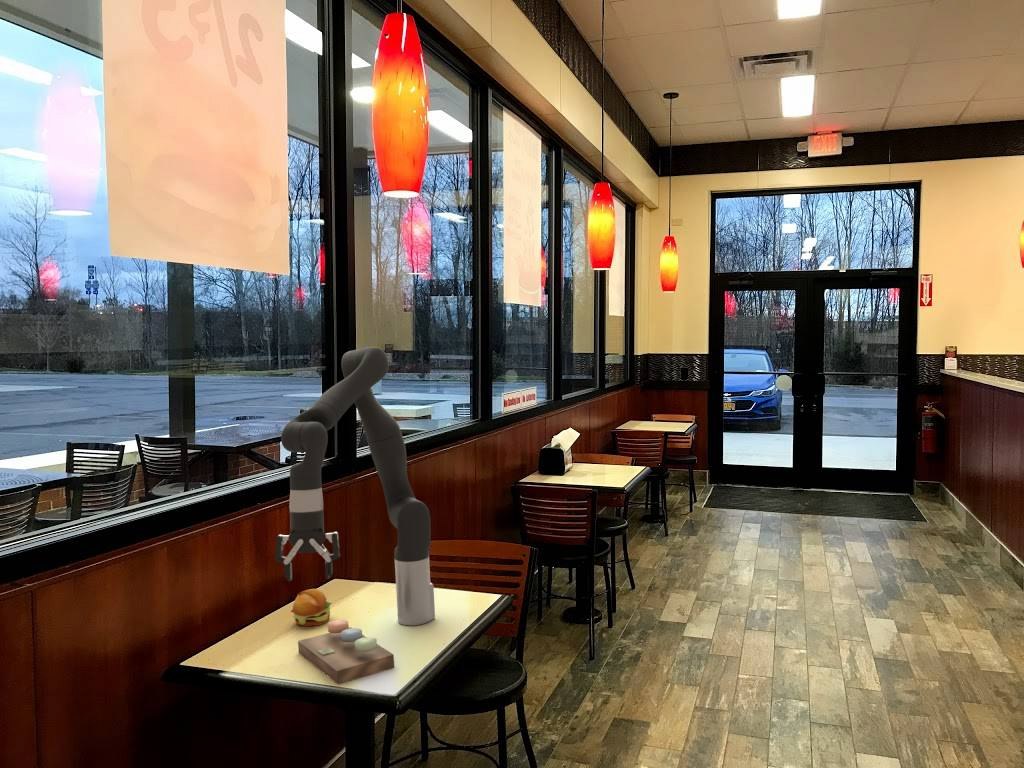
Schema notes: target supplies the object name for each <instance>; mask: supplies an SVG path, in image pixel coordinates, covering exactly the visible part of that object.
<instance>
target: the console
mask: <svg viewBox="0 0 1024 768" xmlns="http://www.w3.org/2000/svg"><path fill="white" fill-rule="evenodd" d="M350 628H352V627H350V626H349V629H350ZM365 637H366V636H365V635H364V634H362V638H365ZM297 647H298V648H297V649H298V654H300V656H302V657H303V658H304V659H306V660H307V661H308V662H310V663H311V664H312V665H313V666H314V667H316V668H317V669H318V670H319V669H320V670H319V671H321V673H323V672H324V673H325V674H324V673H323V674H324V675H326V676H327V675H328V676H329V677H330V680H332V681H333V682H334V683H336V684H337V685H340V684H343V683H347V682H349V681H352V680H357V679H359V678H363V677H366V676H369V675H373V674H377V673H379V672H382V671H386V670H387V671H388V670H389V669H392V668H393V669H394V668H395V658H394V657H395V655H394V653H392V652H390V650H387V649H386V648H384V647H383V646H381V645H380V644H378V643H377V648H376V649H375V650H372V651H369V652H358V651H356V650H355V642H343V641H341V633H330V632H327V633H324V634H323V633H322V634H319V635H315V636H312V637H308V638H304V639H300V640H298V641H297ZM328 676H327V677H328ZM329 677H328V678H329Z"/></svg>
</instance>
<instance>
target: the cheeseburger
mask: <svg viewBox="0 0 1024 768" xmlns="http://www.w3.org/2000/svg"><path fill="white" fill-rule="evenodd" d="M331 605H332V602H329V601H327V597H326V595H325V594H324V592H322V591H321V590H320V589H318V588H311V589H310V588H309V589H306V590H304V591H300V592H299V593H298V594H297V596H296V597H295V599H294V602H293V605H292V609H291V610H290V612H291V613H293V615H292V617H293V619H294V620H295V621H294V622H295V623H296V624H297V625H300V626H302V627H303V626H304V627H314V626H320V625H324V624H325V623H327V622H328V621H329V620H330V616H331V607H330V606H331Z"/></svg>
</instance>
